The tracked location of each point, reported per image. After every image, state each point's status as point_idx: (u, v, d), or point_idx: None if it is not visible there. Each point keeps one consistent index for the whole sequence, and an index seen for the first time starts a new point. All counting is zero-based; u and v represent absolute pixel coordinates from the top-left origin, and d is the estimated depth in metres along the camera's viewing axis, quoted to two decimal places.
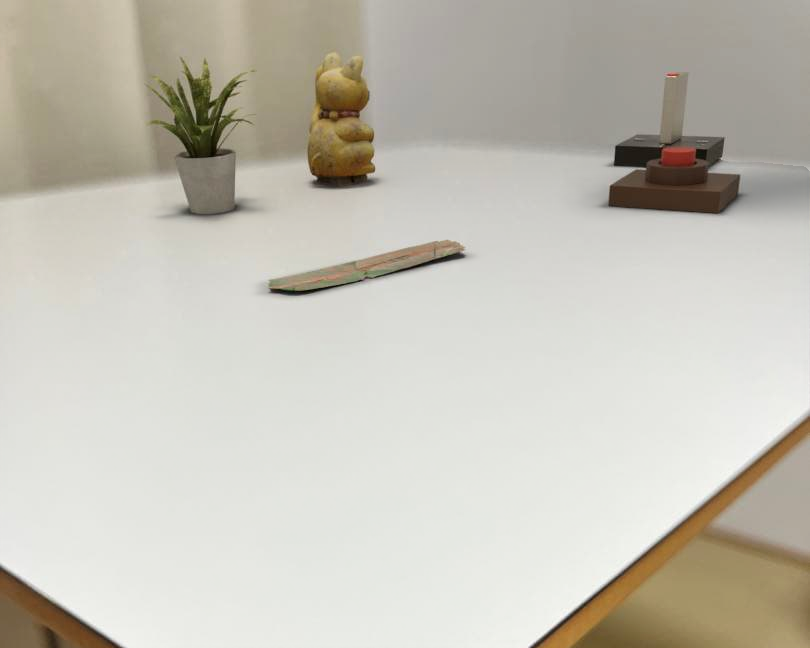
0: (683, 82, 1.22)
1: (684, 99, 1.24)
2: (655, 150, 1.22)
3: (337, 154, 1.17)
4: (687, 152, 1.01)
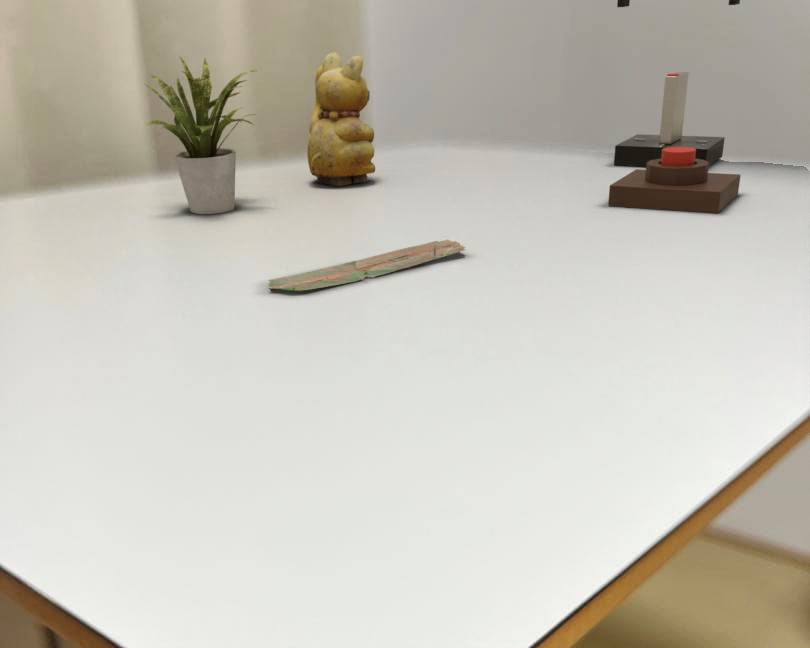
0: (683, 82, 1.22)
1: (684, 99, 1.24)
2: (655, 150, 1.22)
3: (337, 154, 1.17)
4: (687, 152, 1.01)
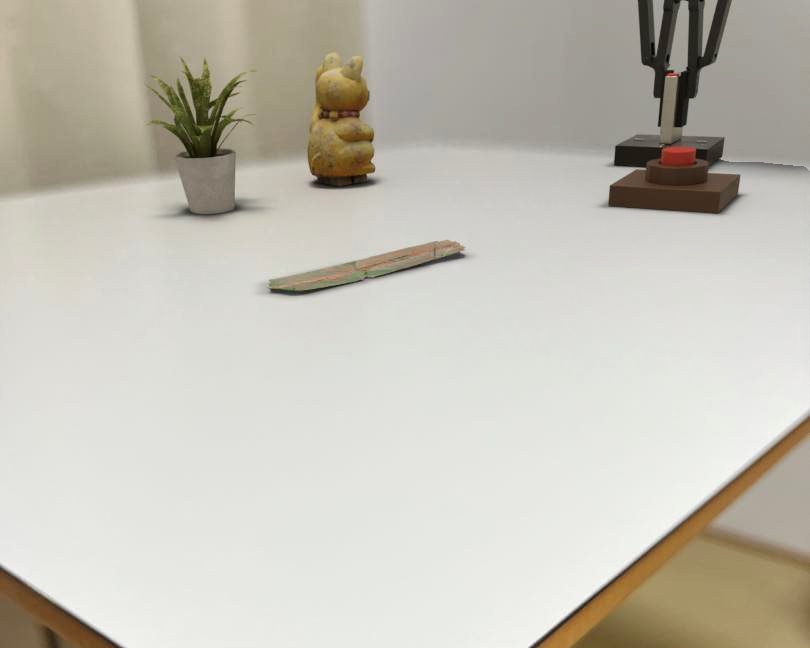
0: None
1: None
2: (655, 150, 1.22)
3: (337, 154, 1.17)
4: (687, 152, 1.01)
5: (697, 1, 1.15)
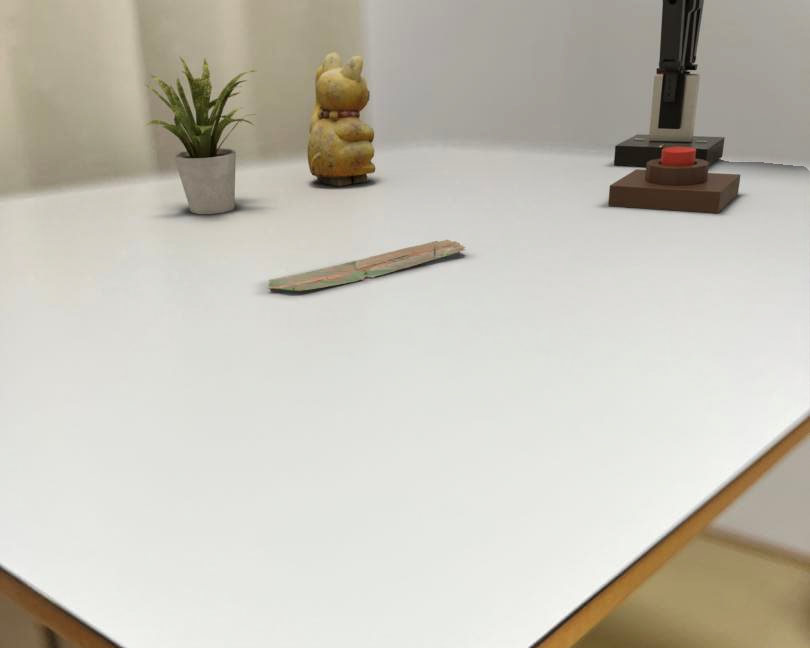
0: None
1: (688, 102, 1.21)
2: (655, 150, 1.22)
3: (337, 154, 1.17)
4: (687, 152, 1.01)
5: None
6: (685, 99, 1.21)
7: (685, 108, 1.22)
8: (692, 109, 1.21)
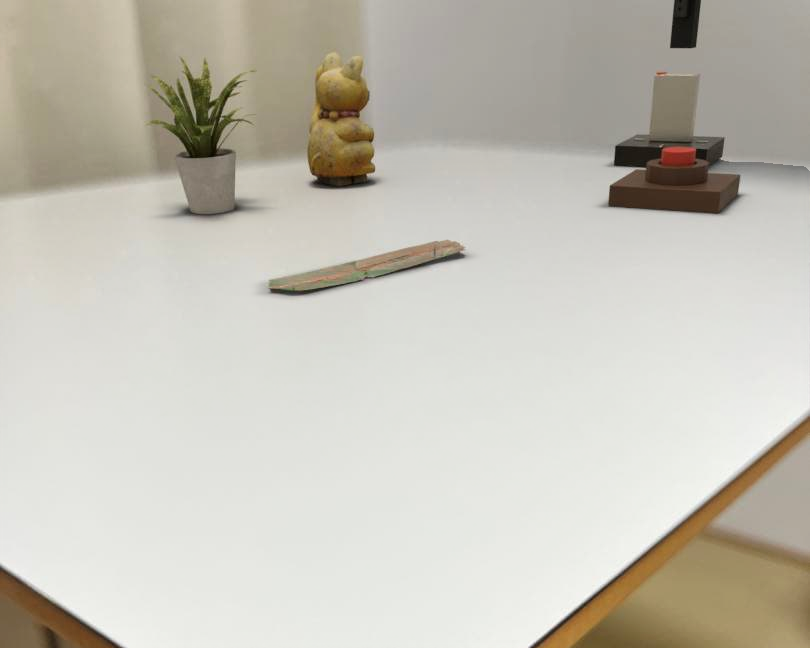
0: (678, 83, 1.21)
1: (688, 102, 1.21)
2: (655, 150, 1.22)
3: (337, 154, 1.17)
4: (687, 152, 1.01)
5: None
6: (685, 99, 1.21)
7: (685, 108, 1.22)
8: (692, 109, 1.21)
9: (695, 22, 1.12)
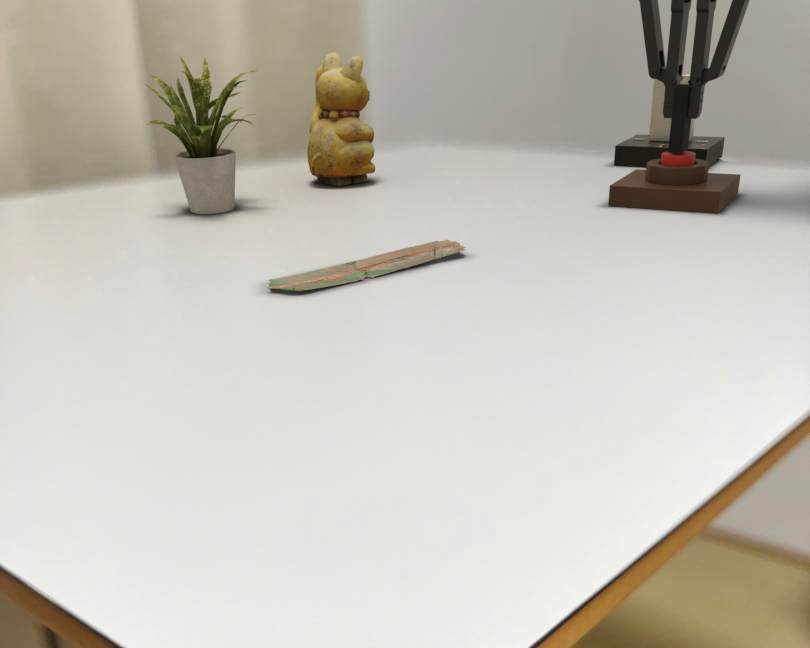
0: None
1: None
2: (655, 150, 1.22)
3: (337, 154, 1.17)
4: (687, 156, 1.02)
5: None
6: None
7: None
8: None
9: (676, 126, 1.01)
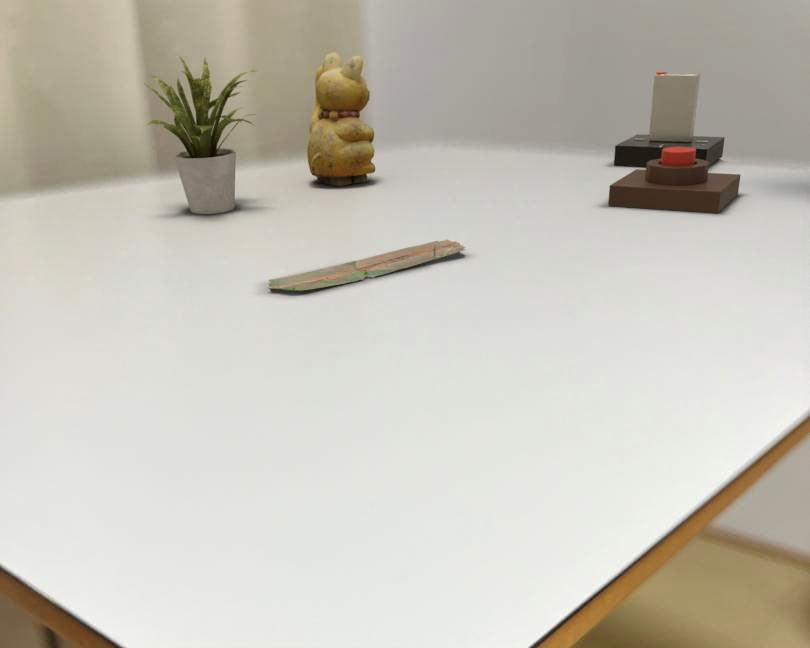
0: (678, 83, 1.21)
1: (688, 102, 1.21)
2: (655, 150, 1.22)
3: (337, 154, 1.17)
4: (687, 152, 1.01)
5: None
6: (685, 99, 1.21)
7: (685, 108, 1.22)
8: (692, 109, 1.21)
9: None
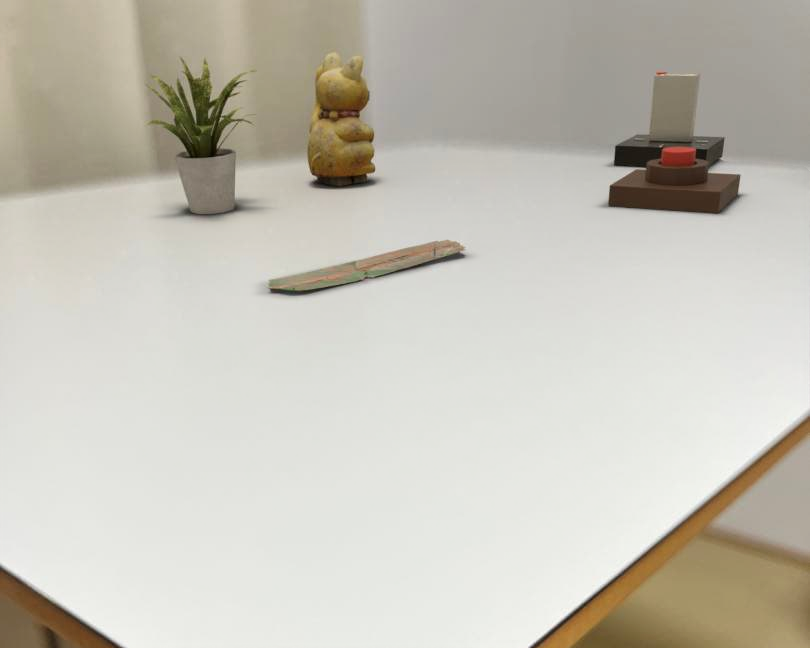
0: (678, 83, 1.21)
1: (688, 102, 1.21)
2: (655, 150, 1.22)
3: (337, 154, 1.17)
4: (687, 152, 1.01)
5: None
6: (685, 99, 1.21)
7: (685, 108, 1.22)
8: (692, 109, 1.21)
9: None
